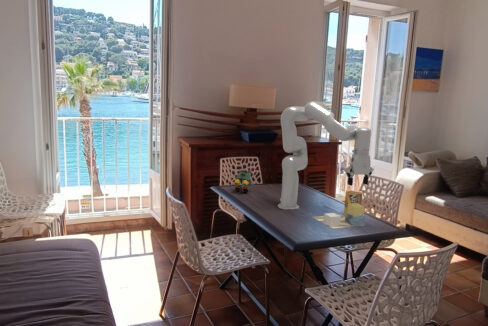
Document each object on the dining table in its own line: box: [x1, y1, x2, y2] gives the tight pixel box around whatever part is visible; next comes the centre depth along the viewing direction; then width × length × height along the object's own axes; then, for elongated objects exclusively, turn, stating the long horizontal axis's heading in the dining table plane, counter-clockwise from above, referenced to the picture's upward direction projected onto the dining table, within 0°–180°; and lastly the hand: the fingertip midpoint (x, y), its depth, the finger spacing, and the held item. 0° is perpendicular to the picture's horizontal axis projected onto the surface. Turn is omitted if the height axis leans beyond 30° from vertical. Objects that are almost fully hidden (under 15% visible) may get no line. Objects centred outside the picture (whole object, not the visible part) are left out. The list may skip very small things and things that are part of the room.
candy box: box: [343, 189, 363, 216], centre depth 217 cm, size 9×4×15 cm, turn 75°
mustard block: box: [347, 203, 365, 216], centre depth 202 cm, size 6×6×5 cm
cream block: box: [322, 212, 341, 227], centre depth 200 cm, size 6×6×5 cm
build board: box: [312, 213, 366, 229], centre depth 206 cm, size 19×20×6 cm
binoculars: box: [233, 169, 255, 194], centre depth 263 cm, size 14×14×15 cm
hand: (357, 184), depth 200 cm, fingers open, 9 cm apart
